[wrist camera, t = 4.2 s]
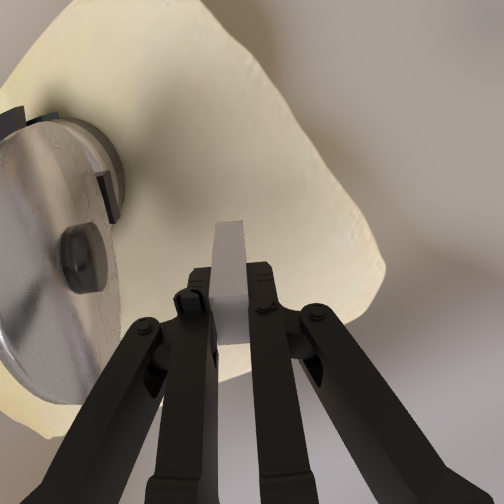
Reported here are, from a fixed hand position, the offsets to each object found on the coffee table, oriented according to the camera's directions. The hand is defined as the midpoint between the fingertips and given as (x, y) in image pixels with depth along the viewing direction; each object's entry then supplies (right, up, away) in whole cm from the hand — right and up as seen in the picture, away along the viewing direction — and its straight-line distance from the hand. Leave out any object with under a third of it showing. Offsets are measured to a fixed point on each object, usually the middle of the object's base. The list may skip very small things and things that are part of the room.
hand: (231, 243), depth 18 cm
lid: (-12, -1, 0) cm, 12 cm away
